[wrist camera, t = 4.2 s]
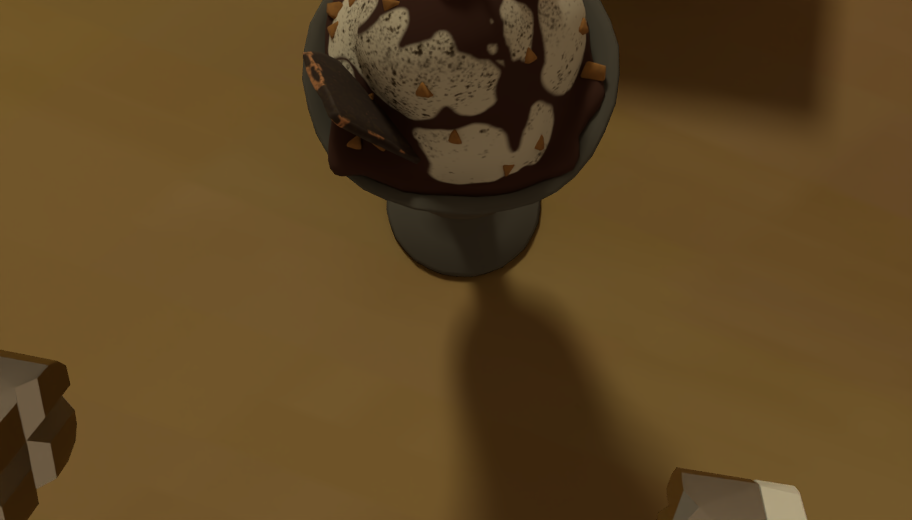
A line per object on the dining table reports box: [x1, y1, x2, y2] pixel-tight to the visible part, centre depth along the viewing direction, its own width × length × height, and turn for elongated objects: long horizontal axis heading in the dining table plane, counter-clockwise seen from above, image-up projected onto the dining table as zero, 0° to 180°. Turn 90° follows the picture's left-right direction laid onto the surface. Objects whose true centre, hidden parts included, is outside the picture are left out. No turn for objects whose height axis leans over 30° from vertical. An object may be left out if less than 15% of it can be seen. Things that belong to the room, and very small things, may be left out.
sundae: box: [302, 0, 619, 277], centre depth 21 cm, size 7×7×15 cm
